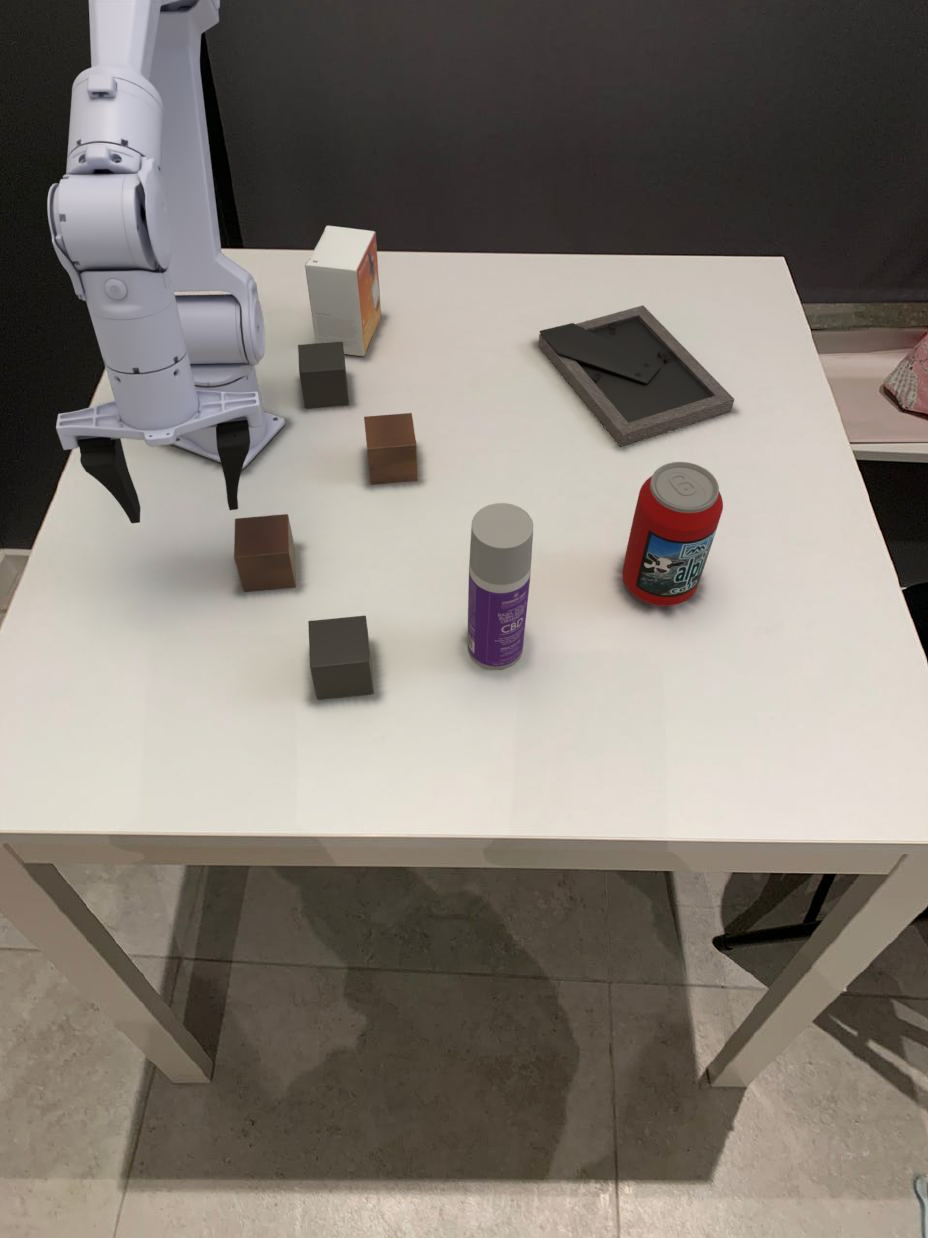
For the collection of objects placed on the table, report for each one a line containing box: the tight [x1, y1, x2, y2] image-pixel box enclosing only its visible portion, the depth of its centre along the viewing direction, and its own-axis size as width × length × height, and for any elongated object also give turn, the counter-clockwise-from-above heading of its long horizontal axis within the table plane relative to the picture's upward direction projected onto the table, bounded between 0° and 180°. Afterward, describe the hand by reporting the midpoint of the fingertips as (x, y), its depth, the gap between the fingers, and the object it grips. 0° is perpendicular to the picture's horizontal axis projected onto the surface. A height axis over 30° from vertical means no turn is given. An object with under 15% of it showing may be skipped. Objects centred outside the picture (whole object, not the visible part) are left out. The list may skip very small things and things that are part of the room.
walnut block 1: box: [233, 513, 297, 593], centre depth 82 cm, size 5×5×5 cm
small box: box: [304, 225, 382, 357], centre depth 100 cm, size 8×6×10 cm
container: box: [467, 502, 534, 671], centre depth 72 cm, size 5×5×15 cm
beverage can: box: [621, 461, 724, 607], centre depth 78 cm, size 7×7×12 cm
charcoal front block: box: [307, 615, 375, 700], centre depth 75 cm, size 5×5×5 cm
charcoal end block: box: [297, 342, 350, 409], centre depth 97 cm, size 5×5×5 cm
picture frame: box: [537, 304, 736, 447], centre depth 100 cm, size 13×2×18 cm
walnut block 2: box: [363, 412, 419, 485], centre depth 90 cm, size 5×5×5 cm
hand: (185, 509), depth 75 cm, fingers open, 7 cm apart
